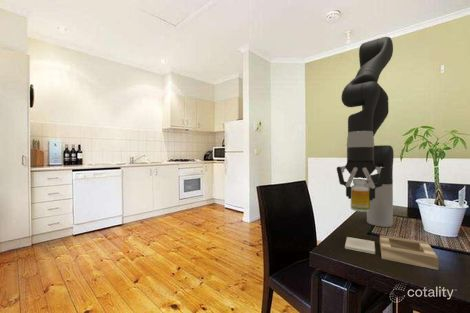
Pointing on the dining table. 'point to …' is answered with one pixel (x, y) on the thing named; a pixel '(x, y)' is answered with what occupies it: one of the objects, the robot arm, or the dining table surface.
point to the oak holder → (408, 252)
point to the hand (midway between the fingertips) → (360, 199)
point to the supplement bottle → (360, 195)
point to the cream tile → (360, 245)
